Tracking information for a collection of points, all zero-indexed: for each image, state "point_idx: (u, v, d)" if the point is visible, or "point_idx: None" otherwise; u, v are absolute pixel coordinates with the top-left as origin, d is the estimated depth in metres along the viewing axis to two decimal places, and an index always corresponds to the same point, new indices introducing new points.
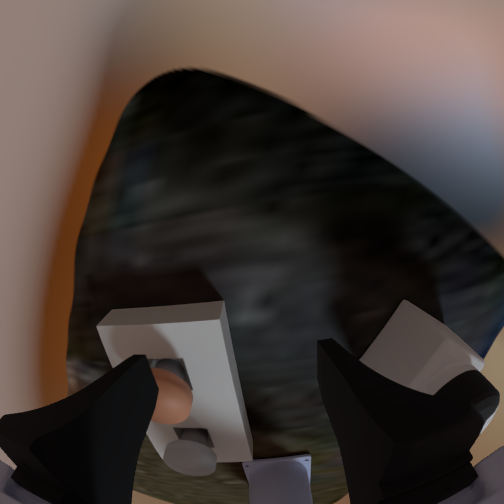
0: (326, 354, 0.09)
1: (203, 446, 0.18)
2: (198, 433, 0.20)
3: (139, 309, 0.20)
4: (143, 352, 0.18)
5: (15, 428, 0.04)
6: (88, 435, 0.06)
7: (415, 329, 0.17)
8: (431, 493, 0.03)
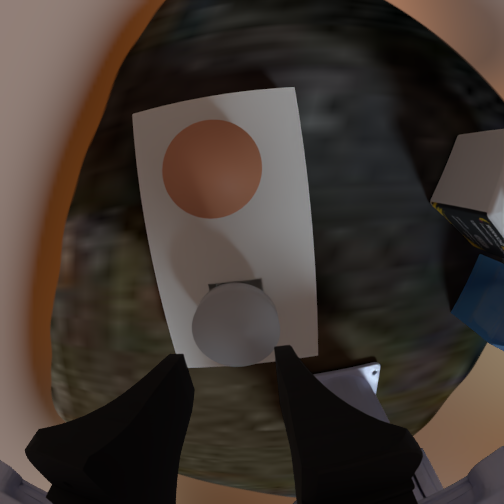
0: (277, 361, 0.09)
1: (262, 292, 0.14)
2: None
3: None
4: None
5: (59, 446, 0.04)
6: (138, 445, 0.06)
7: (481, 140, 0.13)
8: None
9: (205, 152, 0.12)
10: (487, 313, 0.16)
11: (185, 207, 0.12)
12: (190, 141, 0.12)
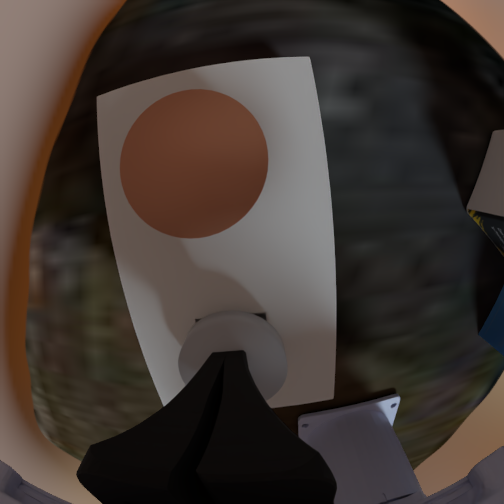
0: (224, 366, 0.09)
1: (265, 322, 0.11)
2: None
3: None
4: None
5: (126, 463, 0.04)
6: (203, 450, 0.05)
7: None
8: None
9: (181, 137, 0.07)
10: None
11: (152, 221, 0.08)
12: (159, 122, 0.07)
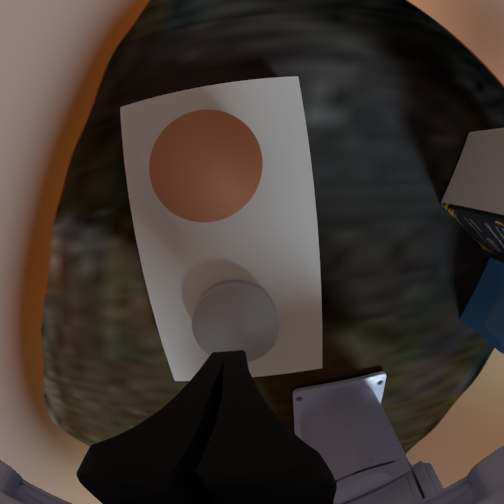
0: (223, 366, 0.09)
1: (261, 289, 0.15)
2: None
3: None
4: None
5: (128, 463, 0.04)
6: (203, 450, 0.05)
7: (495, 137, 0.12)
8: None
9: (197, 146, 0.10)
10: (498, 320, 0.15)
11: (175, 209, 0.11)
12: (180, 134, 0.10)
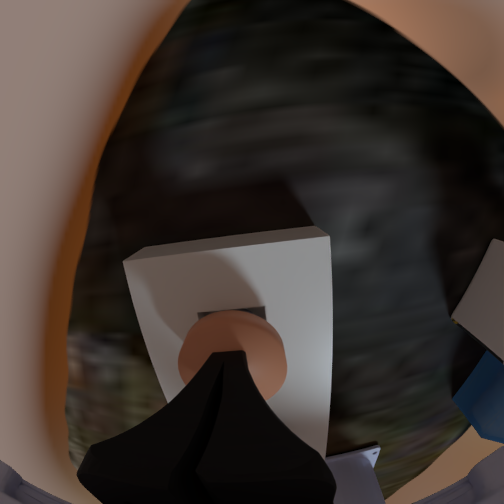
0: (223, 366, 0.09)
1: None
2: None
3: (189, 241, 0.15)
4: (199, 301, 0.13)
5: (127, 464, 0.04)
6: (203, 449, 0.05)
7: None
8: None
9: None
10: (484, 409, 0.14)
11: None
12: (207, 345, 0.10)
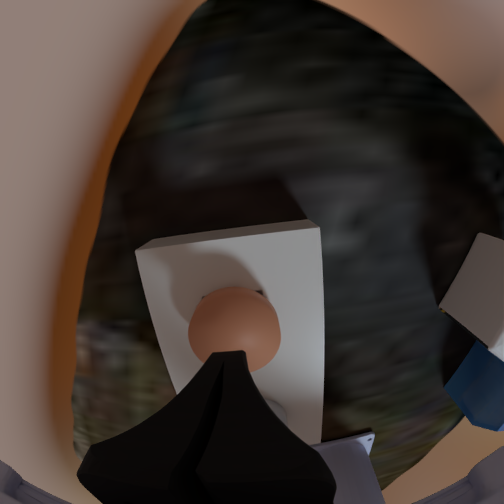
0: (223, 366, 0.09)
1: (274, 403, 0.16)
2: None
3: (194, 233, 0.16)
4: (203, 286, 0.14)
5: (127, 464, 0.04)
6: (203, 449, 0.05)
7: (501, 253, 0.13)
8: None
9: (228, 325, 0.13)
10: (475, 397, 0.16)
11: None
12: (213, 315, 0.13)
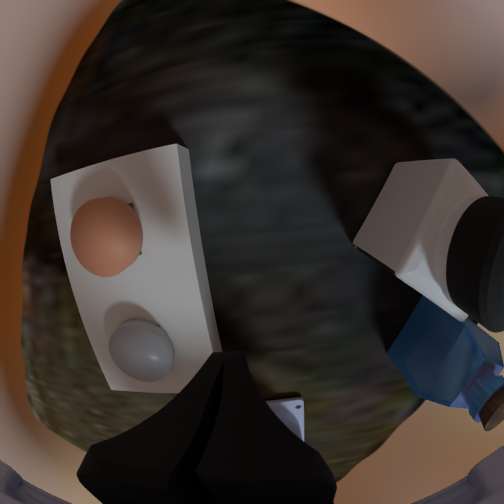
0: (223, 366, 0.09)
1: (156, 327, 0.17)
2: None
3: None
4: None
5: (127, 463, 0.04)
6: (203, 449, 0.05)
7: (415, 172, 0.14)
8: None
9: (95, 226, 0.14)
10: (420, 362, 0.17)
11: (87, 267, 0.14)
12: (85, 216, 0.14)
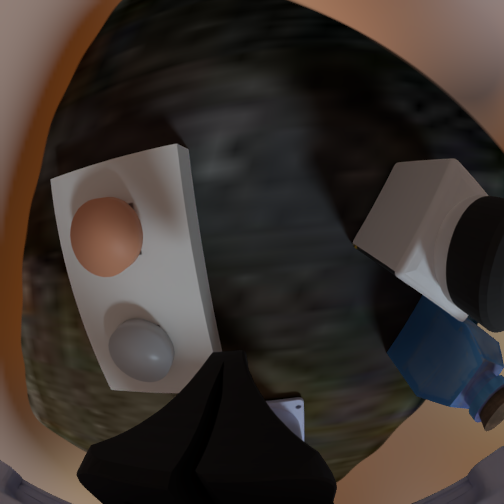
0: (223, 366, 0.09)
1: (156, 327, 0.17)
2: None
3: None
4: None
5: (127, 463, 0.04)
6: (203, 449, 0.05)
7: (415, 172, 0.14)
8: None
9: (95, 226, 0.14)
10: (420, 362, 0.17)
11: (87, 267, 0.14)
12: (85, 216, 0.14)
